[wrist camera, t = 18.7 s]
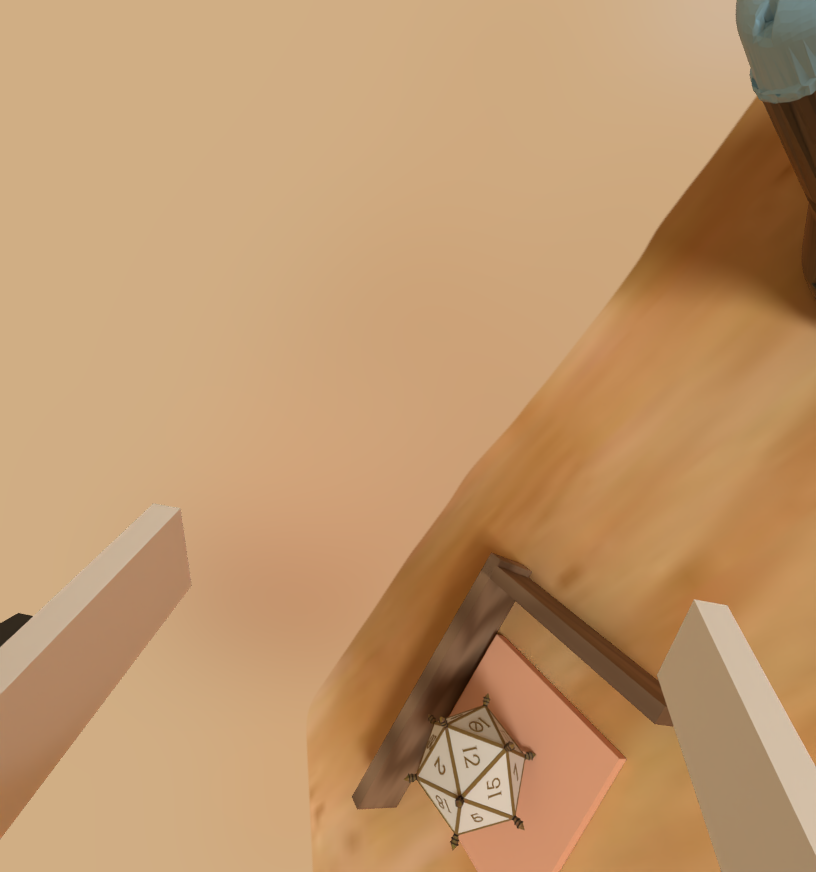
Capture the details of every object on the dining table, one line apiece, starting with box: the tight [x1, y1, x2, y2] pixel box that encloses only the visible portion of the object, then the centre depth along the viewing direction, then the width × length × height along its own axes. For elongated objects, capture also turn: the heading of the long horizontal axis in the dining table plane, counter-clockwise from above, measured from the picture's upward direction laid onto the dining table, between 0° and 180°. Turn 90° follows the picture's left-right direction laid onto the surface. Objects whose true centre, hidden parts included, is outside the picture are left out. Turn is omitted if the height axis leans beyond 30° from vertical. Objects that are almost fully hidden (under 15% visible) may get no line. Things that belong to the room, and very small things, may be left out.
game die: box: [404, 694, 536, 850], centre depth 36 cm, size 9×8×10 cm
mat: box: [449, 634, 626, 872], centre depth 39 cm, size 14×13×1 cm
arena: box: [352, 553, 673, 809], centre depth 38 cm, size 25×17×4 cm
